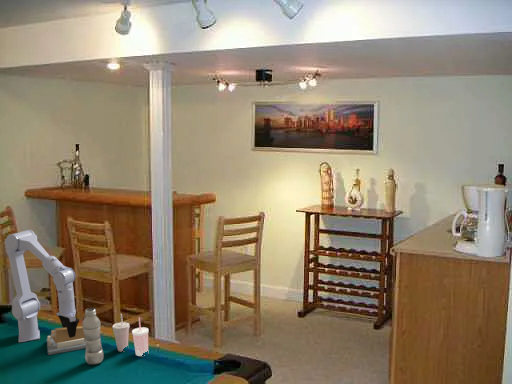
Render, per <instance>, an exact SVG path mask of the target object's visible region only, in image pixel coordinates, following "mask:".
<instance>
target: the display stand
mask: <svg viewBox="0 0 512 384" xmlns="http://www.w3.org/2000/svg"><path fill="white" fill-rule="evenodd" d="M46 347H47V355H48V356H51V355H57V354H62V353H68V352H73V351H77V350H83V349H86V342H85V340H84V338H82V339H76V340H70V341H65V342H59V343H55V342H54V340H53V339H52V337H51V335H47V338H46Z"/></svg>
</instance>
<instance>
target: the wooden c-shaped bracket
mask: <svg viewBox="0 0 512 384" xmlns="http://www.w3.org/2000/svg"><path fill="white" fill-rule="evenodd" d="M50 336H51V338H52V339H53V340H54V342H55V343H59V342H65V341H70V340H76V339H82V338H84V340H85V335H84V331H83V326H82V325H81V326H80V325H79V326H77V328H76V335H75V337H72V338H70V337H69V335H68V331H67V328H63V327H57V328H54V329H53V330H51V331H50Z"/></svg>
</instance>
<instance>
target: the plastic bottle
mask: <svg viewBox="0 0 512 384" xmlns="http://www.w3.org/2000/svg"><path fill="white" fill-rule="evenodd" d="M84 316H85V317H84V319H83V321H82V323H81V324H82V325H81V326H83V331H84V335H85V342H86V348H85V353H84V358H85V361H86V363H87V364H88V365H93V366H94V365H98V364H101V362H103V360H104V350H103V347H102V341H101V326H102V325H101V321H100V318H99V317H98V316H97V311H96V307H89V308H86V309H84Z"/></svg>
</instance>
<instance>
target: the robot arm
mask: <svg viewBox="0 0 512 384" xmlns="http://www.w3.org/2000/svg"><path fill="white" fill-rule="evenodd" d="M4 241H5V242H4V243H5V248H6V251H7V255H8V256H7V257H8V259H9V265H10V270H11V275H12V278H13V279H12V280H13V283H14V289H15V293H16V295H15V296H14V298H13V299H12V301H11V305H12V306H11V313H12V316H13V317H14V318H15V320H17V323H18V324H17V326H18V332H19V333H18V343H24V342H28V341H30V342H31V341H35V340H36V341H37V340H40V338H41V335H40V329H39V324H38V315H39V311H40V310H41V302H40V301H39V299H38V296H37V294H36V293H34V292H33V291H32V290H31V286H30V281H29V276H28V272H27V267H26V261H25V257H24V253H25V252H26V251H29V252H30V253H32V254H33V255H34V256H35V257H36V258H38V259H39V260H40V261H41V263H42V264H41V265H42V267H43V268H44V269H45V270H46V272H47V273H48V274H49V275H50V276H51V277H52V282H53V283H54V285H55V290H57V299H58V307H59V308H58V309H59V310H58V311H57V312H56V316H57V317H58V319H59V321H60V323H61V328H67V331H68V335H69V337H70V338H72V337H75V335H76V328H77V327H78V324H79V323H80V318H79V317H77V318H76V313H77V312H76V311H77V310H76V305H75V304H76V303H75V293H74V282H75V280H76V277H77V276H76V272H75V271H74V269H73V268H72V267H67V266H65V265H64V264H63V263H62V262H61V261H60V260H59V259H58V258H57V257H56V256H54V255H49V253H48V252H47V251H46V250H45V248H44V247H43V246H42V245H41V243H40V242H39V241H38V235H37V234H35V232H34V231H33V230H32V229H26V230H23V231H19V232H15V233H9V234H8V235H7V236H6V237H5V240H4Z"/></svg>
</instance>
